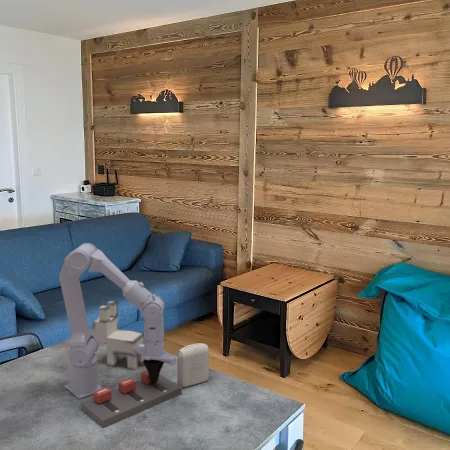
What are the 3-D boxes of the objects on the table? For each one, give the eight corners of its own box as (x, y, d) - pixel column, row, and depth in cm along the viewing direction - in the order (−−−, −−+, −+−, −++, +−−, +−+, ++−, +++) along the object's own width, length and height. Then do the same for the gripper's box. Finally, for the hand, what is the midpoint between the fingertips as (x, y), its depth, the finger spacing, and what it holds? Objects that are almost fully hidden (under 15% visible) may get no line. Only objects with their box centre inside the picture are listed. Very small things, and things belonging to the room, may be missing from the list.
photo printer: (203, 375, 155) (204, 338, 153) (210, 380, 152) (211, 343, 150) (175, 383, 150) (175, 346, 148) (181, 389, 146) (181, 351, 144)
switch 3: (140, 380, 146) (140, 372, 146) (151, 376, 149) (151, 368, 149) (146, 384, 144) (146, 376, 144) (157, 379, 147) (157, 372, 147)
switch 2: (118, 389, 141) (118, 381, 140) (130, 385, 143) (130, 377, 143) (124, 393, 139) (123, 385, 138) (135, 389, 141) (135, 381, 141)
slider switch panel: (81, 409, 135) (81, 402, 134) (157, 378, 152) (157, 372, 152) (103, 427, 126) (103, 420, 126) (181, 393, 144) (181, 386, 143)
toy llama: (141, 371, 157) (140, 313, 154) (94, 363, 162) (92, 306, 159) (151, 362, 164) (150, 305, 161) (106, 354, 169) (104, 299, 166)
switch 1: (93, 399, 135) (93, 391, 135) (106, 394, 138) (105, 386, 138) (98, 403, 133) (98, 395, 133) (111, 398, 136) (111, 390, 135)
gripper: (126, 337, 142) (126, 380, 145) (165, 348, 135) (165, 393, 138) (141, 330, 148) (142, 371, 151) (180, 340, 141) (180, 383, 144)
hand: (154, 381), depth 145 cm, fingers closed
